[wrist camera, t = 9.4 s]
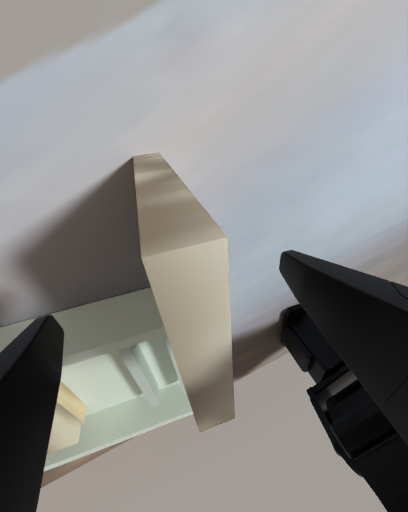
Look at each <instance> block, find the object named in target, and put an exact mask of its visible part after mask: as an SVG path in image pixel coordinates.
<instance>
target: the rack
mask: <svg viewBox="0 0 408 512" xmlns="http://www.w3.org/2000/svg"><path fill="white" fill-rule="evenodd" d="M48 315H52V316H53V317H54V318H55V319H56V320H57V322H58V323H59V324H60V325H61V327H62V328H63V330H64V348H63V362H62V374H61V382H63V383H64V384H65V385H66V386H67V387H68V388H69V389H70V390H71V391H72V392H73V393H74V394H75V395H76V396H77V397H78V398H79V399H80V400H81V401H82V402H83V403H84V404H85V405H86V406H87V407H86V414H85V421H84V424H83V425H81V429H80V436H79V442H78V443H77V444H74V445H71V446H69V447H66V448H63V449H61V450H58V451H55V452H53V453H50V454H47V456H46V462H45V467H44V471H47V470H49V469H52V468H55V467H57V466H60V465H62V464H65V463H68V462H70V461H73V460H75V459H78V458H80V457H83V456H86V455H88V454H91V453H93V452H96V451H99V450H101V449H104V448H106V447H109V446H111V445H114V444H117V443H119V442H122V441H124V440H127V439H130V438H132V437H135V436H137V435H140V434H142V433H145V432H148V431H150V430H153V429H155V428H158V427H161V426H163V425H166V424H168V423H171V422H173V421H176V420H179V419H181V418H183V417H186V416H188V415H191V414H193V411H192V408H191V405H190V402H189V399H188V396H187V393H186V390H185V387H184V384H183V381H182V378H181V375H180V372H179V369H178V366H177V363H176V360H175V357H174V354H173V351H172V348H171V345H170V342H169V339H168V336H167V333H166V330H165V327H164V324H163V321H162V318H161V315H160V312H159V309H158V306H157V303H156V300H155V297H154V294H153V291H152V288H151V287H149V288H146V289H142V290H138V291H134V292H131V293H127V294H123V295H119V296H116V297H112V298H108V299H104V300H101V301H97V302H93V303H89V304H86V305H82V306H78V307H75V308H71V309H67V310H63V311H60V312H56V313H52V314H48ZM41 317H42V316H41ZM37 318H38V317H37ZM35 319H36V318H33V319H30V320H26V321H22V322H18V323H15V324H11V325H7V326H4V327H0V352H1V351H2V350H3V349H4V348H5V347H6V346H7V345H9V344H10V343H11V342H12V341H13V340H14V339H15V338H16V337H17V336H18V335H19V334H20V333H21V332H22V331H23V330H24V329H25V328H27V327H28V326H29V325H30V324H31V323H32V322H33V321H34V320H35Z"/></svg>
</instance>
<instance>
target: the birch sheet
mask: <svg viewBox="0 0 408 512" xmlns="http://www.w3.org/2000/svg"><path fill="white" fill-rule="evenodd" d="M133 163H134V175H135V187H136V199H137V211H138V223H139V235H140V247H141V258H142V261H143V264H144V267H145V270H146V273H147V276H148V279H149V282H150V285H151V288H152V291H153V294H154V297H155V300H156V303H157V306H158V309H159V312H160V315H161V318H162V321H163V324H164V327H165V330H166V333H167V336H168V339H169V342H170V345H171V348H172V351H173V354H174V357H175V360H176V363H177V366H178V369H179V372H180V375H181V378H182V381H183V384H184V387H185V390H186V393H187V396H188V399H189V402H190V405H191V408H192V411H193V414H194V417H195V420H196V423H197V426H198V429H199V432H202V431H205V430H207V429H209V428H212V427H214V426H217V425H219V424H222V423H224V422H227V421H229V420H232V419H234V418H235V411H234V388H233V362H232V337H231V313H230V288H229V263H228V239H227V236H226V235H225V234H224V232H223V231H222V230H221V229H220V227H219V226H218V225H217V224H216V222H215V221H214V220H213V219H212V217H211V216H210V215H209V214H208V212H207V211H206V210H205V209H204V208H203V206H202V205H201V204H200V203H199V201H198V200H197V199H196V198H195V196H194V195H193V194H192V193H191V191H190V190H189V189H188V188H187V186H186V185H185V184H184V183H183V182H182V180H181V179H180V178H179V177H178V175H177V174H176V173H175V172H174V170H173V169H172V168H171V167H170V165H169V164H168V163H167V162H166V160H165V159H164V158H163V157H162V155H161V154H160V153H153V154H147V155H140V156H134V157H133Z"/></svg>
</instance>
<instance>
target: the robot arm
mask: <svg viewBox="0 0 408 512" xmlns="http://www.w3.org/2000/svg"><path fill="white" fill-rule="evenodd" d="M279 270H280V273H281V274H282V276H283V278H284V279H285V281H286V283H287V284H288V286H289V287H290V289H291V291H292V292H293V294H294V296H295V297H296V299H297V300H298V302H299V303H300V305H298V306H295V307H292V308H289V309H288V310H287V311H286V315H285V320H284V325H283V331H282V336H281V341H280V342H281V344H282V345H283V346H286V347H287V349H288V350H289V352H290V353H291V355H292V356H293V358H294V359H295V361H296V362H297V364H298V365H299V367H300V368H301V369H302V371H304V372H307V371H308V372H309V374H310V375H311V377H312V378H313V379H314V381H315V382H316V385H315V386H313V387H310V388H309V389H307V393H308V395H309V396H310V401H311V403H312V405H313V407H314V409H315V411H316V413H317V415H318V417H319V418H320V420H321V422H322V424H323V426H324V428H325V430H326V432H327V434H328V436H329V438H330V440H331V442H332V445H333V447H334V450H335V451H336V453H337V454H338V455H339V456H341V457H342V458H343V459H344V460H345V461H346V463H347V464H348V465H349V466H350V467H351V469H352V470H353V471H354V472H355V473H357V474H358V475H359V476H361V477H364V479H365V480H366V482H367V483H368V484H369V485H370V487H371V488H372V490H373V491H374V492H375V494H376V495H377V496H378V498H379V500H380V501H381V503H382V504H383V505H384V507H385V509H386V510H387V512H408V287H407V286H404V285H401V284H398V283H395V282H391V281H390V282H389V281H388V280H385V279H382V278H379V277H376V276H372V275H369V274H366V273H363V272H360V271H357V270H353V269H350V268H347V267H344V266H341V265H338V264H334V263H331V262H328V261H325V260H322V259H319V258H316V257H312V256H309V255H306V254H303V253H300V252H297V251H293V250H289V251H285V252H282V254H281V258H280V265H279ZM63 348H64V330H63V328H62V327H61V325H60V324H59V323H58V322H57V320H56V319H55V318H54V317H53V316H52V315H45V316H42V317H38V318H36V319H35V320H34V321H33V322H32V323H31V324H30V325H29V326H28V327H27V328H25V329H24V330H23V331H22V332H21V333H20V334H19V335H18V336H17V337H16V338H15V339H14V340H13V341H12V342H11V343H10V344H9V345H7V346H6V347H5V348H4V349H3V350H2V351H1V352H0V512H36V509H37V504H38V499H39V493H40V488H41V483H42V478H43V472H44V467H45V462H46V456H47V451H48V446H49V440H50V435H51V430H52V424H53V419H54V414H55V408H56V403H57V398H58V392H59V387H60V381H61V374H62V362H63Z"/></svg>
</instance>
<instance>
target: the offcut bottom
mask: <svg viewBox="0 0 408 512" xmlns="http://www.w3.org/2000/svg"><path fill="white" fill-rule="evenodd" d="M57 402H58V403H59V404H61V405H62V406H63V407H64V408H65V409H67V410H68V411H69V412H70V413H71V414H73V415H74V416H75V417H76V418H77V419H79V420H80V421H81V422H82V423H81V425H83V424H84V421H85V414H86V407H87V406H86V405H85V404H84V403H83V402H82V401H81V400H80V399H79V398H78V397H77V396H76V395H75V394H74V393H73V392H72V391H71V390H70V389H69V388H68V387H67V386H66V385H65V384H64V383H63V382H61V381H60V387H59V392H58V398H57Z"/></svg>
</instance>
